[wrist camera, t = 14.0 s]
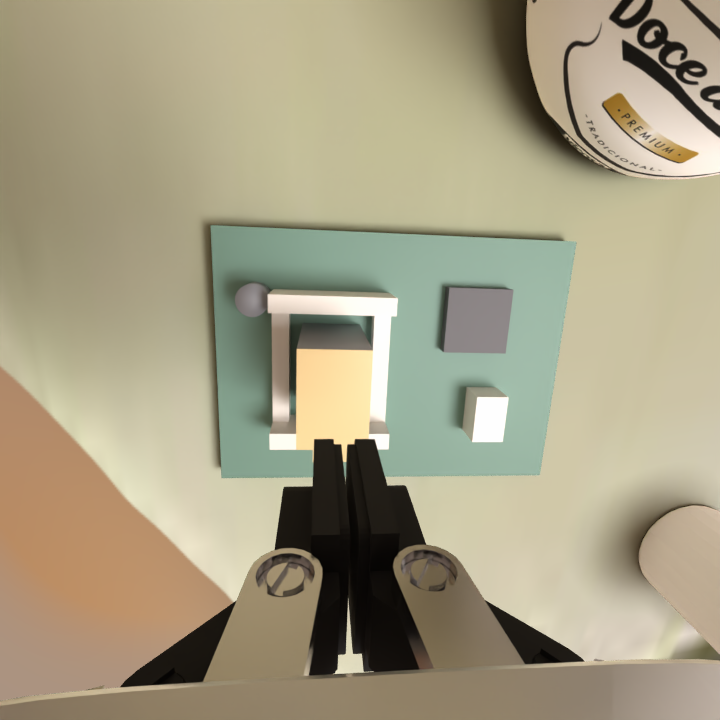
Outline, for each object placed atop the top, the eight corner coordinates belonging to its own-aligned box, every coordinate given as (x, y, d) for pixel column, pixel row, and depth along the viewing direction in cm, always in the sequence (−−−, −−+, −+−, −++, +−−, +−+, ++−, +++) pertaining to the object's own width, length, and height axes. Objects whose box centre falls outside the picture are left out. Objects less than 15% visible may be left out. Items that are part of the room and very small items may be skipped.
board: (215, 226, 26) (195, 222, 22) (566, 241, 28) (607, 241, 24) (225, 469, 30) (210, 503, 26) (531, 467, 32) (562, 498, 28)
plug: (302, 322, 27) (296, 348, 20) (359, 324, 27) (372, 350, 20) (301, 407, 28) (296, 459, 21) (356, 407, 28) (367, 459, 21)
